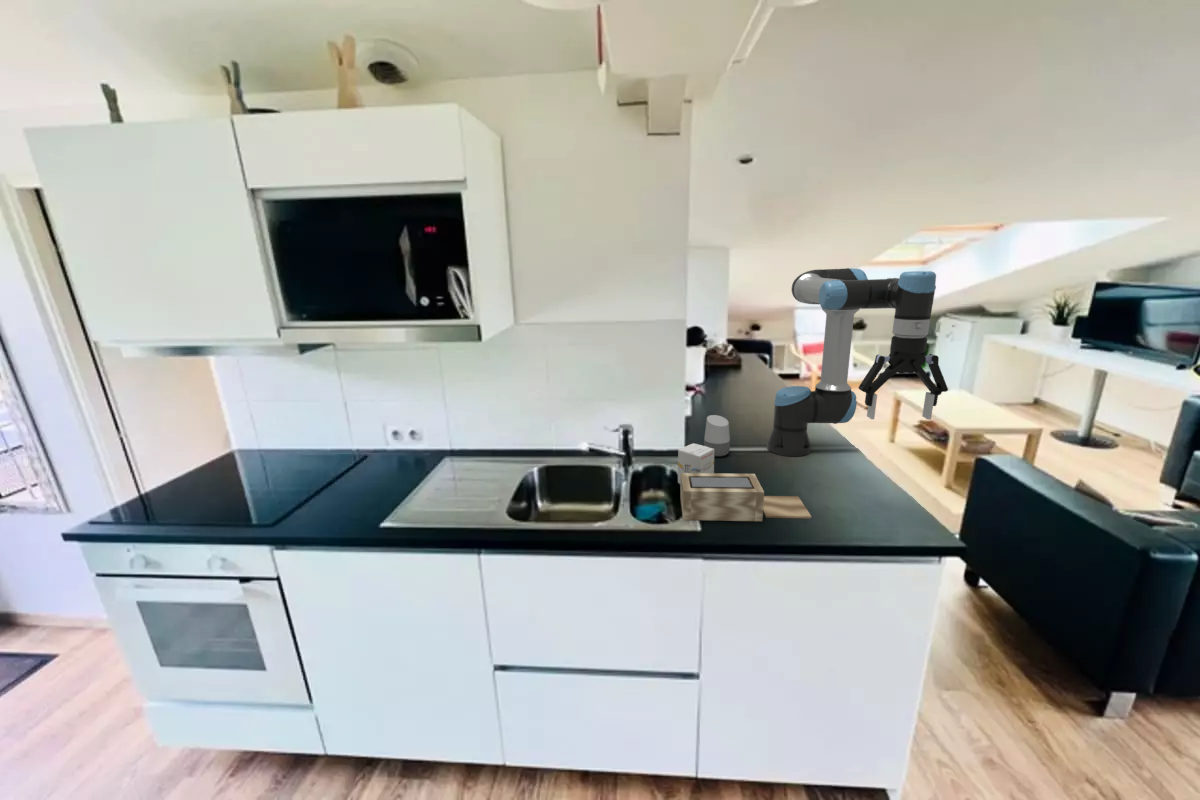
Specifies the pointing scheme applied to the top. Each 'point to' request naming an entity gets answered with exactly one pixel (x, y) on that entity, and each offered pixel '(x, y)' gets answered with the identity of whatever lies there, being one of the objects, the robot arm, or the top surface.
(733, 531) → the top surface
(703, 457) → the ink box
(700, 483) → the grey flat bar
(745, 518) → the box
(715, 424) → the smart speaker
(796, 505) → the pad
